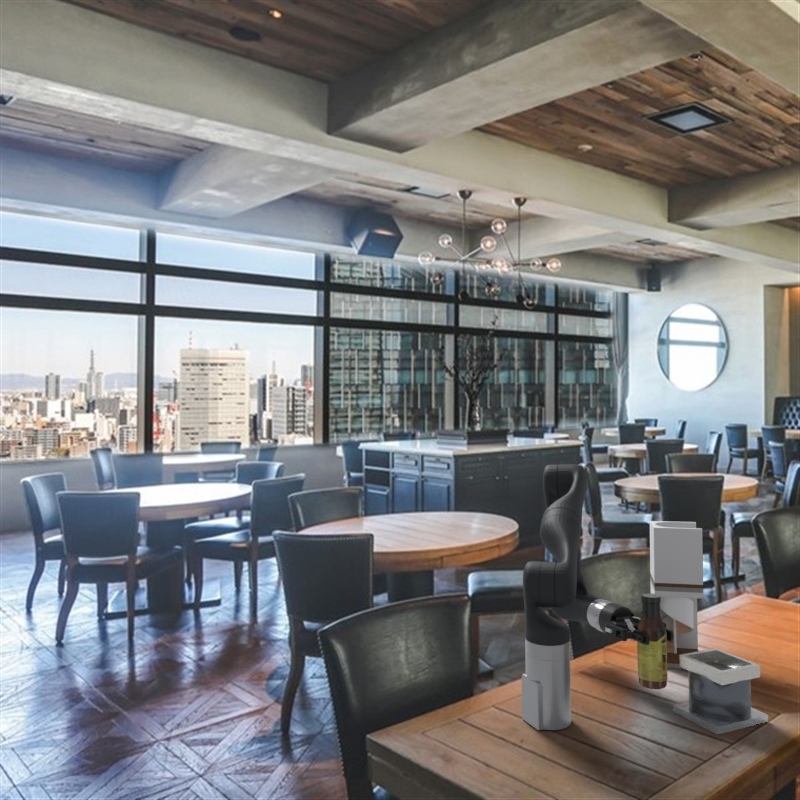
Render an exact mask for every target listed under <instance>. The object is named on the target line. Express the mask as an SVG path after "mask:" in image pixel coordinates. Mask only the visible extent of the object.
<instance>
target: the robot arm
mask: <svg viewBox="0 0 800 800" xmlns="http://www.w3.org/2000/svg"><path fill="white" fill-rule="evenodd" d="M542 488H543V497H544V502H545V508H546V509H545V511H544V513H543V515H542V518H541V523H540V528H539V537H540V540H541V543H542V544H543V546H544V547H545V549H546V550H547V551H548V552H549V554H551V556H552V558H553V559H552V560H553V561H537V560H531V561H528V562H526V564H525V565H524V569H523V572H522V591H523V602H524V603H523V604H524V606H523V607H524V639H525V641H524V645H525V646H524V651H525V653H524V654H525V655H524V656H525V657H524V659H525V662H524V663H525V673H522V674H521V714H522V715H521V719H522V720H523V721H524V722H526V723H527V724H529V725H530V726H532V727H533V728H534V729H535V730H537V731H542V730H543V731H544V730H546V731H559V730H564V729H567V728H569V727H570V725H571V724H572V705H571V704H572V700H571V697H572V696H571V695H572V691H571V632H570V627H569V626H568V625H567V623H565V622H563V621H561V620H559V619H557V618H560V619H564V620H566V621H573V622H581V623H583V624H585V625H586V624H587V626H590V627H593V628H594V629H595V630H597V631H600V632H602V633H604V634H605V635H606V636H608V637H611V638H614V639H617V640H620V641H622V642H627V641H628V640H629V641H631V642H636V643H637V642H640V643H642V644H644V645H648V644H649V635H648V634H646V633H643V632H641V631H638V629H637V626H638V623H639V621H640V619H641V618H642V617H640V616H639V617H638V616H636V615H635V614H634V612H633V611H632V610H631V609H630V608H628V607H626V606H624V605H622V604H619V603H615V602H613V601H611V600H607V599H602V598H599V597H598V596H594V595H590V594H589V591H588V588H587V585H586V582H585V578H584V575H583V572H582V559H581V557H582V555H581V549H580V548H581V547H580V540H581V536H582V535H581V533H582V526H583V525H582V524H583V508H584V503H585V498H586V494H587V489H588V474H587V471H586V469H585V467H584V466H583V465H581V464H575V463H574V464H572V463H571V464H569V463H567V464H564V463H562V464H559V463H558V464H547V465H546V466H545V467H544V469H543V474H542ZM543 607H544V608H550V611H551V612H552V613H553V615H555V616H556V617H557V618H555V617H554V616H551V615H550V614H549V613H547V612H546V611H545V610H543V609H542V608H543ZM663 624H664V626H665V629H666V623H664V622H663ZM666 632H667V640H668V641H673V631H671V630H669V629H666Z"/></svg>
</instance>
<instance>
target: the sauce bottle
mask: <svg viewBox="0 0 800 800" xmlns="http://www.w3.org/2000/svg"><path fill="white" fill-rule="evenodd" d="M660 602H661V597H660V595H657V594H651V592H650V593H642V594H641V603H642V612H641V613H642V616H641V617H640V618H641V619H640V621H639V623H638V626H637V629H638V631H641V632H643V633H646V634H648V635H649V644H648V645H644V644H642V643H640V642H637V641H636V646H637V647H636V649H637V677H638V684H639V685H640V686H641V687H643V688H646V689H650V690H661V689H664V688H666V687H667V684H668V681H667V680H668V668H667V632H666V629H665V626H664V624H663V621H662V618H661V615H660Z"/></svg>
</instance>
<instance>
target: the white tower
mask: <svg viewBox="0 0 800 800" xmlns="http://www.w3.org/2000/svg"><path fill="white" fill-rule="evenodd" d="M703 547H704V546H703V528H702V527H701V528H700V527H697V522H696V521H673V520H672V521H667V520H664V521H663V520H661V521H660V520H649V570H650V575H649V577H650V578H649V579H650V582H649V583H650V593H651V594H657V595H660V597H661V602H660V615H661V618H662V621H663V622H664V623H666V629H669V630H671V631H673V641H668V640H667V669H677V670H678V669H679V670H685V669H684V668H682V667H680V658H679V655H682V654H687V653H692V652H698V651H700V650H699V648H698V647H699V646H698V645H699V642H698V641H699V640H698V639H699V638H698V633H699V632H698V631H699V630H698V628H699V627H698V599H704V568H703V565H704V563H703V562H704V560H703V558H704V557H703V556H704V555H703V554H704V552H703V549H704V548H703Z"/></svg>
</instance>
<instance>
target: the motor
mask: <svg viewBox="0 0 800 800" xmlns="http://www.w3.org/2000/svg"><path fill="white" fill-rule="evenodd" d="M679 658H680V667H682V668H684V669H683V670H687V671H688V701H684V702H679V703H674V704H672V711H673V713H675V714H677V715H679V716H680V717H682V718H684V719H686V720H688V721H690V722H692V723H693V724H696V725H698V726H700V727H702V728H703V729H705V730H707V731H709V732H711V733H713V734H715V735H717V736H718V734H719V735H723V734H726V733H730V732H734V731H739V730H741V729H742V730H743V729H746V727H747V728H750V726H751V727H754V725H755V726H757V725H756V724H759V725H761V724H760V723H763V724H766V723H765V722H767V723H769V714H766V713H765V712H762V711H760V710H758V709H756V708H753V707H752V690H751V689H752V685H751V684H752V683H751V681H752V680H754V679H758V678H761V664H758V663H756V662H754V661H750V660H748V659H745V658H743V657H740V656H738V655H735V654H733V653H730V652H727V651H725V650H722V649H719V648H717V647H715V648H710V649H704V650H699V651H698V652H692V653H687V654H682V655H679ZM738 729H739V730H738Z"/></svg>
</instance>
